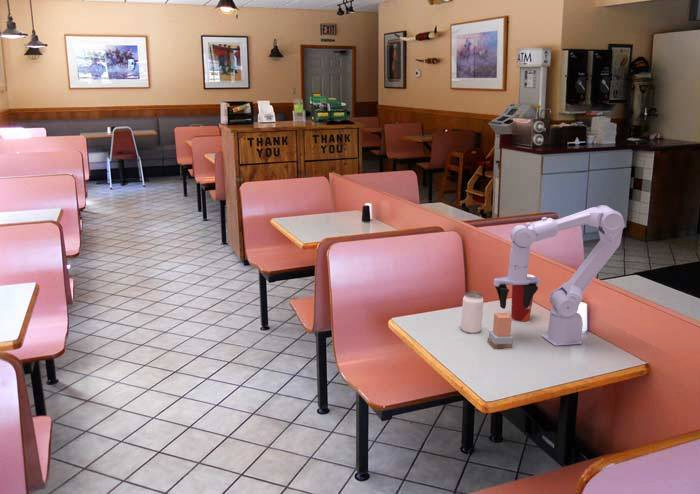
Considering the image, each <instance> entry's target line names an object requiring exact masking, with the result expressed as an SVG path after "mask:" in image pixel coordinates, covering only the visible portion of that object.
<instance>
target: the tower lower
mask: <svg viewBox="0 0 700 494" xmlns="http://www.w3.org/2000/svg"><path fill="white" fill-rule="evenodd" d="M488 343H489V344H488ZM487 344H488V345H489V346H491V348H492V349H494V350H495V349H497V350H505V349H504V348H511V349H513V343H512V344H494V343H493V342H492V340H491V339H490V338H489V337H487Z"/></svg>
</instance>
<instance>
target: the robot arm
mask: <svg viewBox="0 0 700 494" xmlns="http://www.w3.org/2000/svg"><path fill="white" fill-rule="evenodd" d="M583 225H587V226H591V227H595V228H596V229H597V231H598V235H599V241H598V242H597V244H595V246H594V247H593V248H592V250H591V251H590V252H589V254H588V255H587V256H586V257H585V259H584V261H582V263H580V266H579V267H578V268H577V270H576V271H574V273H573V274H572V276H571V277H570V279H569V280H568V281H566V282H563V283H562V284H561V285H560V287H558V288H556V289H554V290H553V291H551V293H550V296H549V302H550V304H551V305H552V307H551V309H550V312H549V319H548V320H549V322H548V330H547V332H548V333H546V334H542V335H541V337H542V338H544V339H545V340H546V341H548V342H549V343H550V344H552V345H553V346H555V347H557V346H570V345H580V344H583V342H582V340H581V339H582V335H583V327H584V326H583V324H584V322H583V317H582V315H581V314H580V313H579V312H578V310H579V306H580V304H581V303H582V301H583V297H584V296H583V295H584V291H586V289H588V287H589V285H590V284H591V283H592V281H593V280H594V279H595V278H596V276H597V275H598V274H599V272H600V271H601V270H602V268H603V267H604V266H605V265H606V263H607V262H608V261H609V260H610V258H611V257H612V256H613V254H614V253H615V252H616V251H617V249H618V248H619V247H620V245H621V242H622V238H623V237H622V235H623V230H624V228H625V227H626V223H625V220H624V217H623V215H622V213H620V211H617V210H614V209H613V208H611V207H610V206H608V205H605V204H601V205H598V206H593V207H590V208H587V209H585V210H582V211H579V212H576V213H573V214H570V215H567V216H564V217H561V218H558V219H554V218H551V217H546V216H543V217H541V220H537V221H533V222H529V221H528V222H526V223H525V225H523V224H518V225H515V226H514V227H513V228H512V229H511V231H510V232H509V236H510V239H511V247H510V251H509V260H508V269H507V271H508V272H507V276H503V277H496V278H493V282H492V285H494V287H495V289H496V292H497V295H498V299H499V307H500V308H501V309H506V307H507V298H508V294H509V292H510V289H508V287H507V286H512V285H523V288H524V296H523V306H524V307H526V308H528V306H529V303H530V301H531V299H532V297H533V298H534V295H535V294H536V292H537V291H538V290H539V285H541V284H540V283H541V278H540V277H538V276H535V277H527V274H529V266H530V265H529V264H530V255H531V245H532V244H533V243H537V242H540V241H542V240H546V239H549V238H553V237H556V236H557V235H558V233H559V232H560V231H564V230H567V229H568V230H569V229H572V228H576V227H580V226H583Z"/></svg>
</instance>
